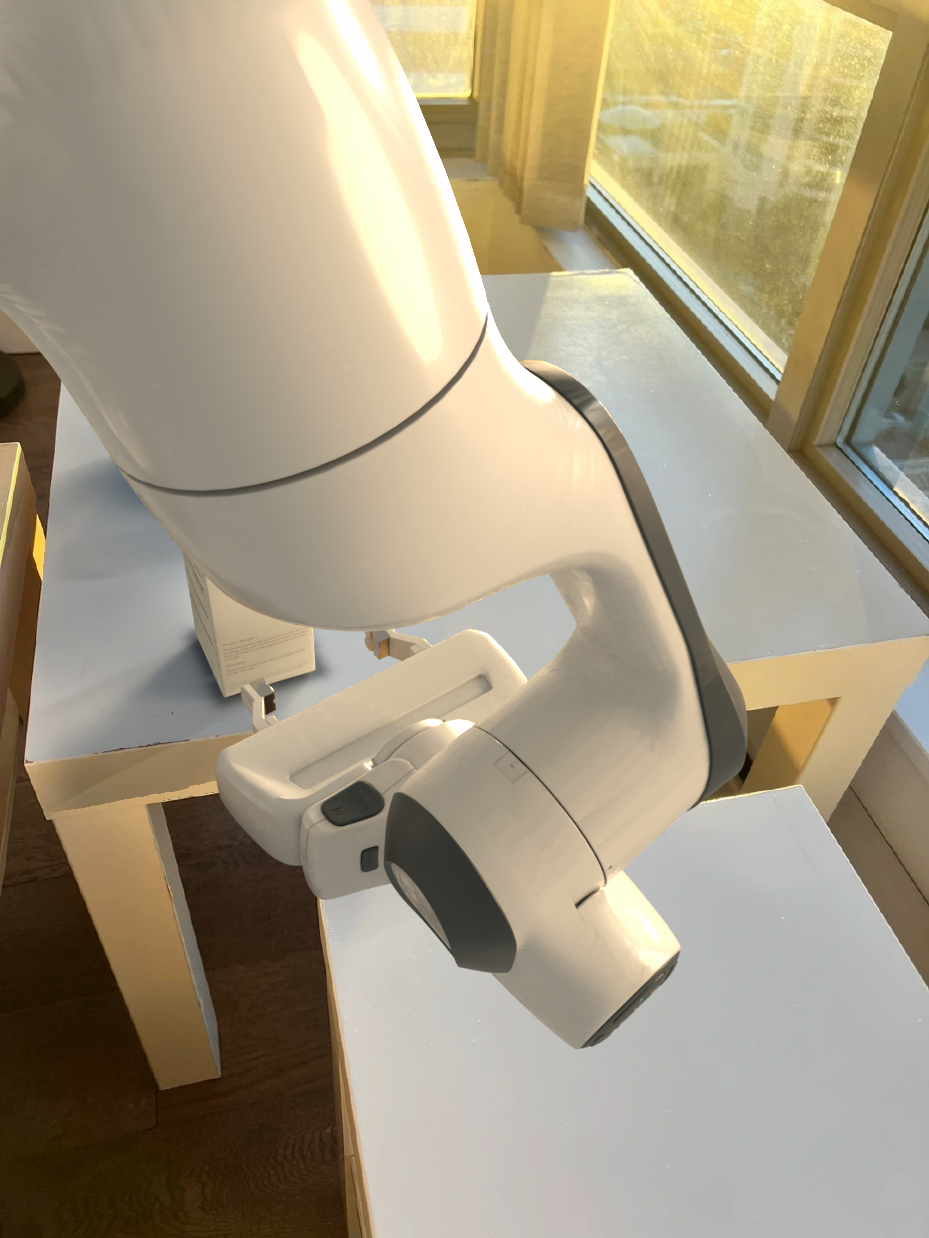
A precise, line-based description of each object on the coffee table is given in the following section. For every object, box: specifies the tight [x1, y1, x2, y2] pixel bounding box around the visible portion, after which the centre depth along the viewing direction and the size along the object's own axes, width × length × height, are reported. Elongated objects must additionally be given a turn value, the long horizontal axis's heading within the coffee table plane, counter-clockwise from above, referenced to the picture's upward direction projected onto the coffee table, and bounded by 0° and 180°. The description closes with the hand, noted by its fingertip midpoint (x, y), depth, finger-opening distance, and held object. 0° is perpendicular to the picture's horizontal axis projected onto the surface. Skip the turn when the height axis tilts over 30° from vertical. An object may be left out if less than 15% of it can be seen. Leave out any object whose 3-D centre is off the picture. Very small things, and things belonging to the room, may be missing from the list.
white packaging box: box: [181, 550, 316, 698], centre depth 69 cm, size 7×7×13 cm
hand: (314, 659), depth 64 cm, fingers open, 8 cm apart
